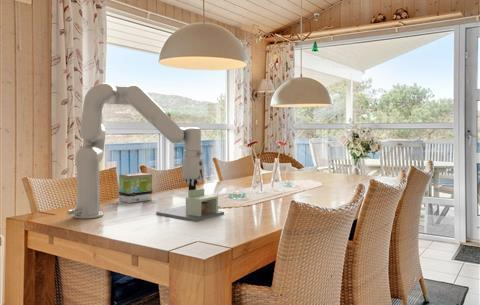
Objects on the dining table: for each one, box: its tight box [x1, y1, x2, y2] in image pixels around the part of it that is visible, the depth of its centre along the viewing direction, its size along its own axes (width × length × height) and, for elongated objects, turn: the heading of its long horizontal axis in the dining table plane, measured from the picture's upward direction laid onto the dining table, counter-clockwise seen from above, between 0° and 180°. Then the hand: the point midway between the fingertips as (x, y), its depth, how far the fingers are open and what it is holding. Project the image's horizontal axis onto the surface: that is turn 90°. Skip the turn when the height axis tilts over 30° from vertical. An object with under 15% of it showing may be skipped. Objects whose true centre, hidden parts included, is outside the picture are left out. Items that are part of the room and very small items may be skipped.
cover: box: [185, 187, 219, 217], centre depth 187 cm, size 13×8×10 cm, turn 146°
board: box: [155, 205, 225, 223], centre depth 191 cm, size 20×24×5 cm
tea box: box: [118, 172, 153, 204], centre depth 224 cm, size 15×10×15 cm
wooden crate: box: [201, 201, 210, 215], centre depth 188 cm, size 6×6×5 cm
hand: (192, 193), depth 190 cm, fingers closed
